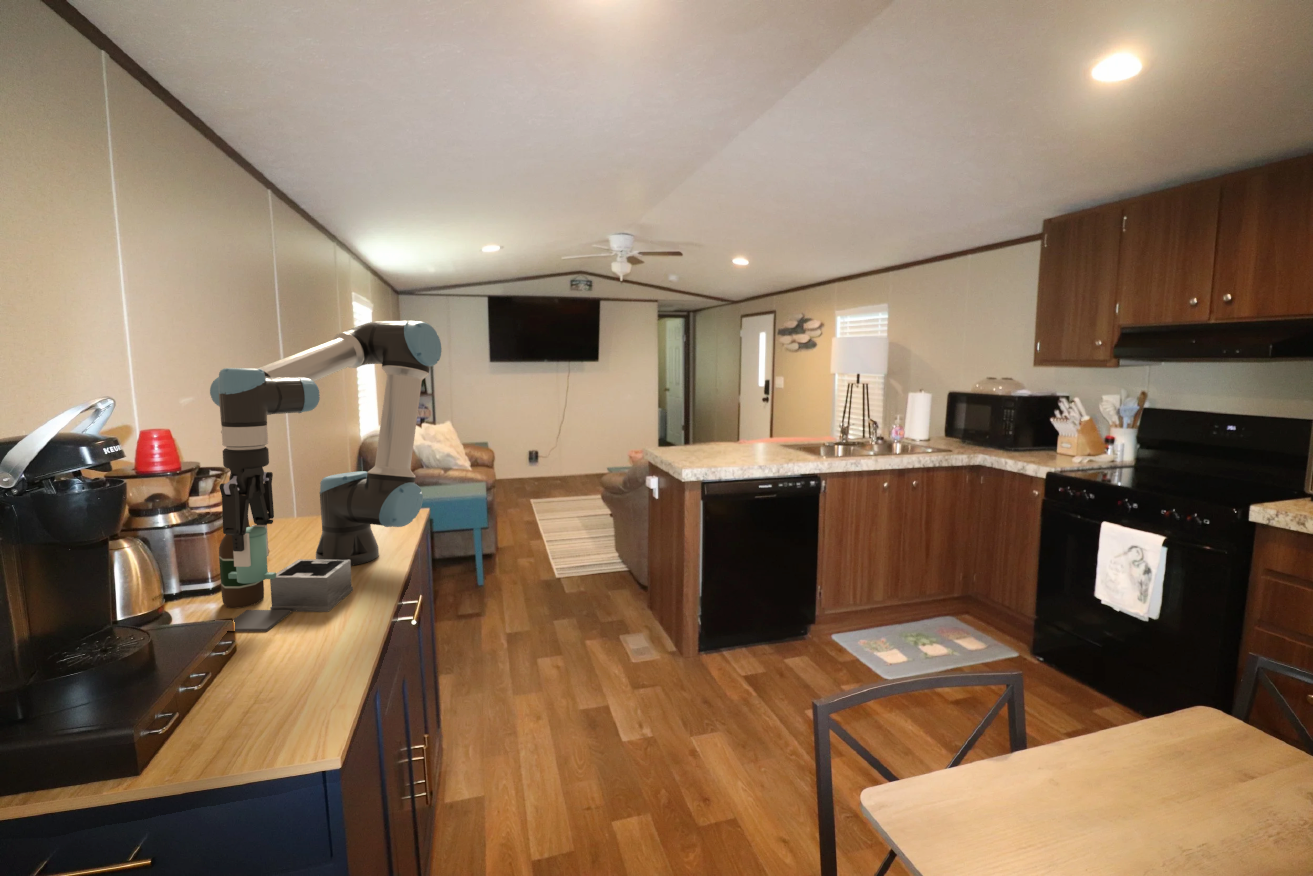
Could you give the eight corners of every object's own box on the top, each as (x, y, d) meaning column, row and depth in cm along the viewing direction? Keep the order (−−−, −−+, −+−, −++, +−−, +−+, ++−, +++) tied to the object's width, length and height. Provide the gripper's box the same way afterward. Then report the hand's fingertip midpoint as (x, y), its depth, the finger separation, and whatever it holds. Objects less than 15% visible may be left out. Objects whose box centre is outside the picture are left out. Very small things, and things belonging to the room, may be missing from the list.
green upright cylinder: (282, 574, 126) (280, 526, 125) (266, 584, 121) (264, 534, 120) (238, 573, 126) (236, 526, 125) (221, 583, 120) (218, 533, 119)
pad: (247, 612, 129) (246, 609, 129) (291, 612, 129) (291, 609, 129) (219, 631, 120) (219, 628, 120) (266, 631, 121) (266, 628, 120)
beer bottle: (273, 598, 137) (266, 493, 134) (239, 611, 130) (232, 500, 126) (247, 592, 139) (241, 489, 136) (213, 605, 132) (205, 497, 129)
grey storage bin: (299, 590, 142) (298, 559, 141) (353, 590, 142) (351, 559, 141) (270, 611, 130) (268, 577, 129) (328, 611, 130) (327, 578, 129)
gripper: (253, 440, 129) (259, 546, 132) (193, 453, 111) (201, 576, 113) (290, 441, 129) (295, 547, 132) (236, 454, 111) (243, 577, 114)
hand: (251, 560), depth 123 cm, fingers closed on green upright cylinder, 5 cm apart
